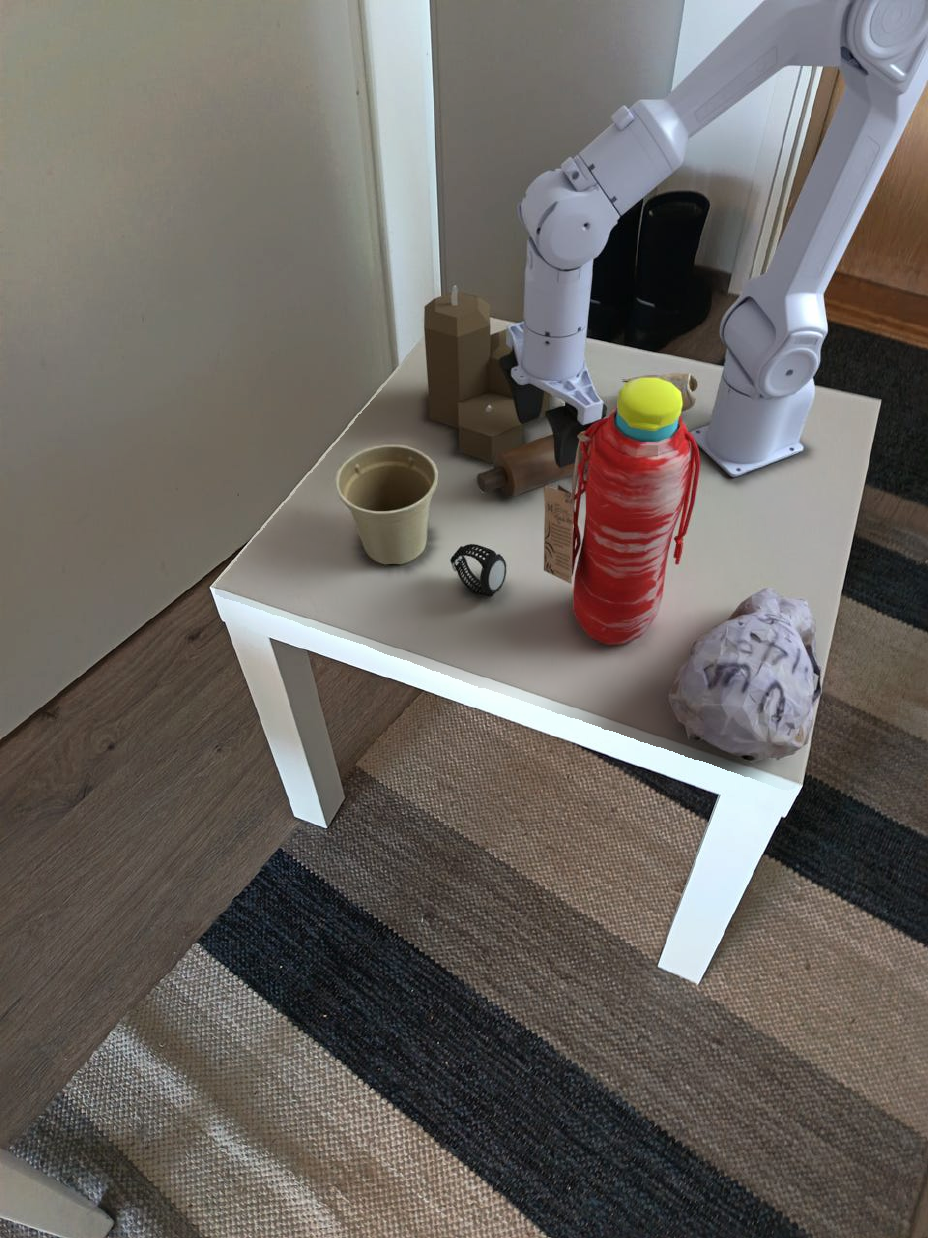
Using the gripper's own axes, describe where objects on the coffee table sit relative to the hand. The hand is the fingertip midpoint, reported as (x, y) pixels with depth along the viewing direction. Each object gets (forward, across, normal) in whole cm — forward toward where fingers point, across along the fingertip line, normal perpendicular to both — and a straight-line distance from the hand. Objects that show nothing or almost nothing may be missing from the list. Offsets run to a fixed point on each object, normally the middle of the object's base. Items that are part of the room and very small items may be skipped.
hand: (547, 440), depth 87 cm
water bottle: (+5, +19, -5) cm, 20 cm away
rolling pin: (+3, 0, 0) cm, 3 cm away
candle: (+5, -12, -1) cm, 14 cm away
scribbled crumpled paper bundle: (+6, +32, +1) cm, 33 cm away
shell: (+5, -4, +17) cm, 18 cm away
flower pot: (+5, +2, -18) cm, 19 cm away
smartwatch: (+5, +10, -13) cm, 17 cm away
